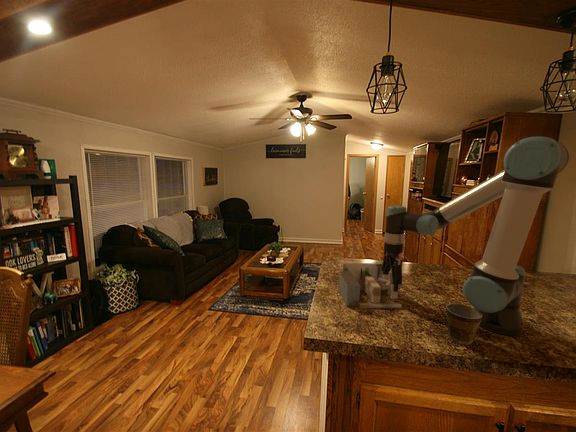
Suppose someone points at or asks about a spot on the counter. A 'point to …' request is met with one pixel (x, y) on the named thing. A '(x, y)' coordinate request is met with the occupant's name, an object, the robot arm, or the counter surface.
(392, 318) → the counter surface
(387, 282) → the pipe connector
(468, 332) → the ceramic cup
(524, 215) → the robot arm
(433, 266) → the counter surface
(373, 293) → the gauge pad
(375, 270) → the gauge frame
